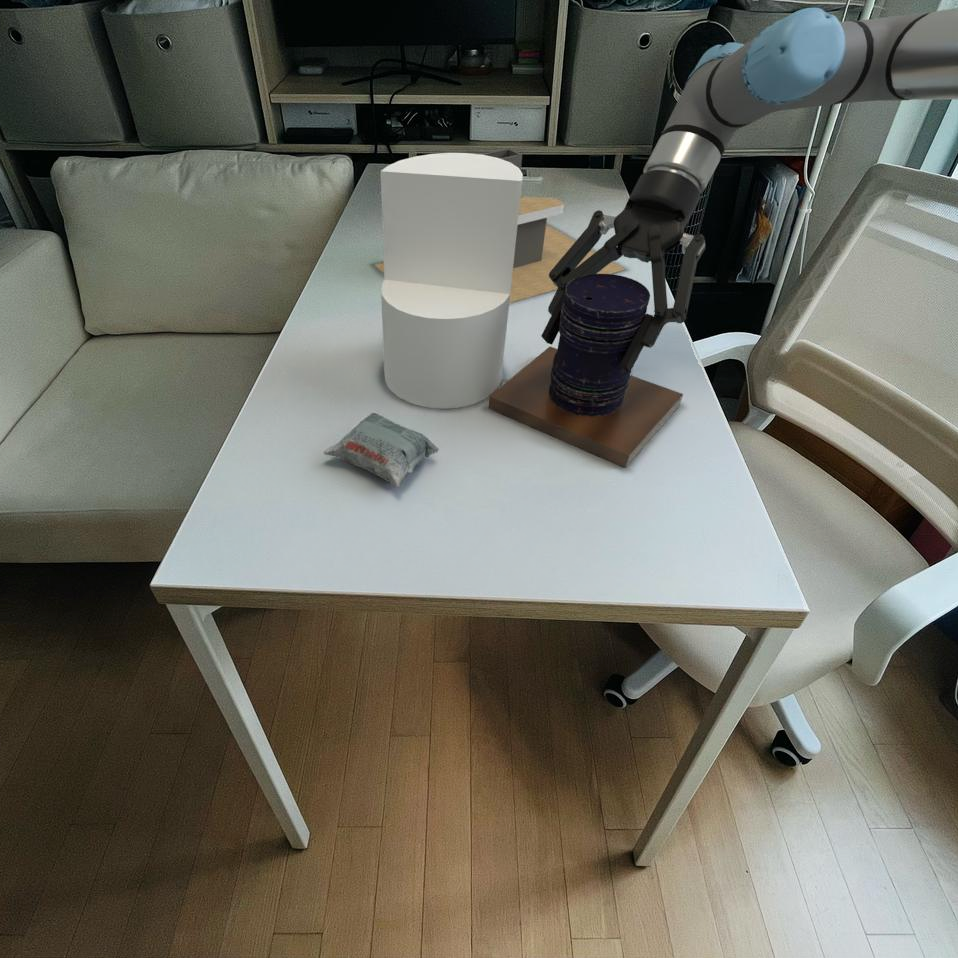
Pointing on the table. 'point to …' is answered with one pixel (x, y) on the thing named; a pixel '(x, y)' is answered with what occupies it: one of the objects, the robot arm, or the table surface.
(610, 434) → the board
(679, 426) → the table surface
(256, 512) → the table surface
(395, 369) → the cylinder
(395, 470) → the packaged food
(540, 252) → the architectural model
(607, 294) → the navy ribbed canister
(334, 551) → the table surface
